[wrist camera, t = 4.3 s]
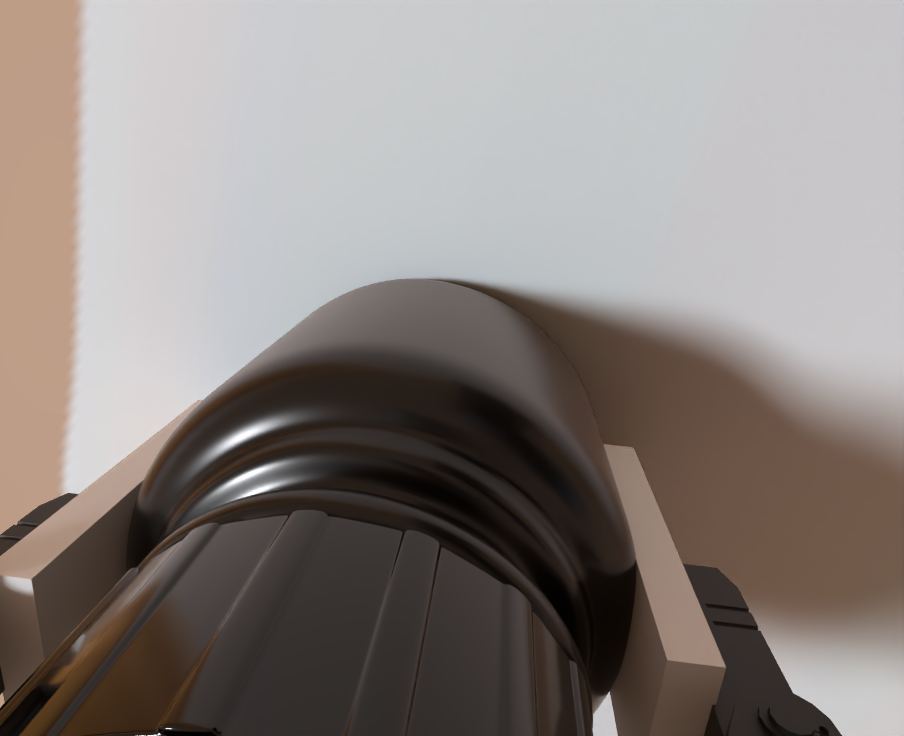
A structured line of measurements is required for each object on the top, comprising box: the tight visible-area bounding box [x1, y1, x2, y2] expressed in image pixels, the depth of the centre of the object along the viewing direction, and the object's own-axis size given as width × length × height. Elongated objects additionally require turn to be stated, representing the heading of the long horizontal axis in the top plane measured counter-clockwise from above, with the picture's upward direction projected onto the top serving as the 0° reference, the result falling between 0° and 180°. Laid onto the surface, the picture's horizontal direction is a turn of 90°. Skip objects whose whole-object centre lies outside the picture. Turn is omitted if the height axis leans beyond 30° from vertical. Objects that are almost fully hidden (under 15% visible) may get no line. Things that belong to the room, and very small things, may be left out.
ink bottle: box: [0, 279, 636, 736], centre depth 11 cm, size 10×9×12 cm
